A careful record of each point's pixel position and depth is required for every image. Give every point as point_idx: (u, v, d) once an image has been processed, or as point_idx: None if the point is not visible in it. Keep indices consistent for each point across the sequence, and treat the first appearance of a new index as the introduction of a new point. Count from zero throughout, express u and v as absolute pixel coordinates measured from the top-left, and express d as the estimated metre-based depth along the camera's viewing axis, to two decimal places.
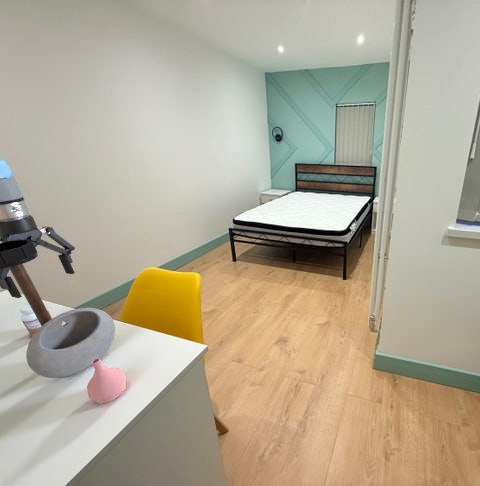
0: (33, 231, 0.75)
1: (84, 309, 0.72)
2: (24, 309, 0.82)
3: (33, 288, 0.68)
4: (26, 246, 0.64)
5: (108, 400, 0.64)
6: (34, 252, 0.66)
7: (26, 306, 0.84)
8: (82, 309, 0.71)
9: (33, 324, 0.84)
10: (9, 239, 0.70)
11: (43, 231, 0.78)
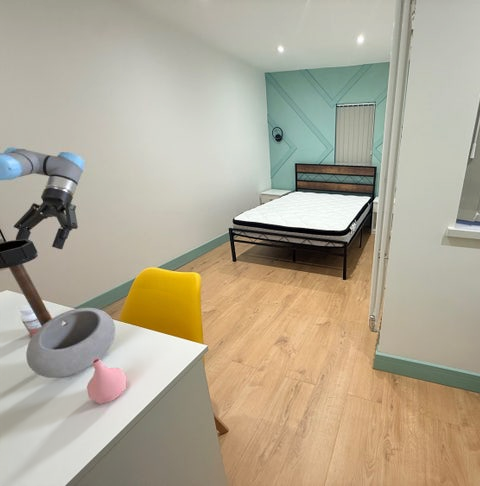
0: None
1: (84, 309, 0.72)
2: (24, 309, 0.82)
3: (33, 288, 0.68)
4: (26, 246, 0.64)
5: (108, 400, 0.64)
6: (34, 252, 0.66)
7: (26, 306, 0.84)
8: (82, 309, 0.71)
9: (33, 324, 0.84)
10: None
11: None
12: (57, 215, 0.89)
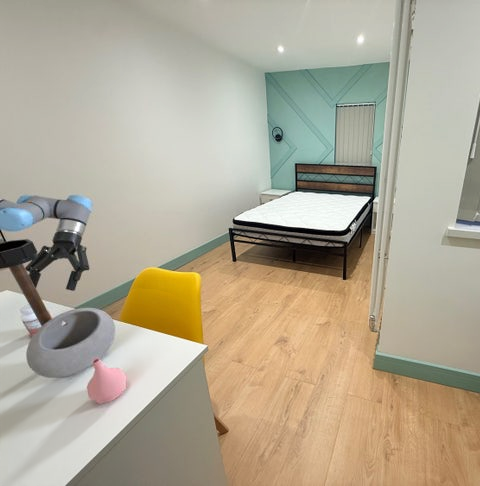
0: None
1: (84, 309, 0.72)
2: (24, 309, 0.82)
3: (33, 288, 0.68)
4: (26, 246, 0.64)
5: (108, 400, 0.64)
6: (34, 252, 0.66)
7: (26, 306, 0.84)
8: (82, 309, 0.71)
9: (33, 324, 0.84)
10: None
11: None
12: (69, 258, 0.93)
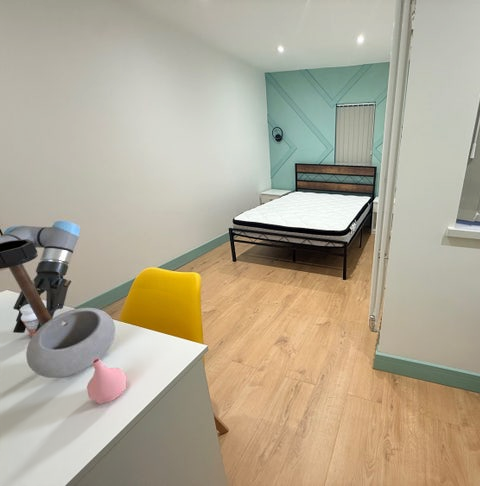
0: None
1: (84, 309, 0.72)
2: (24, 309, 0.82)
3: (33, 288, 0.68)
4: (26, 246, 0.64)
5: (108, 400, 0.64)
6: (34, 252, 0.66)
7: (26, 306, 0.84)
8: (82, 309, 0.71)
9: (33, 324, 0.84)
10: None
11: None
12: (48, 292, 0.87)
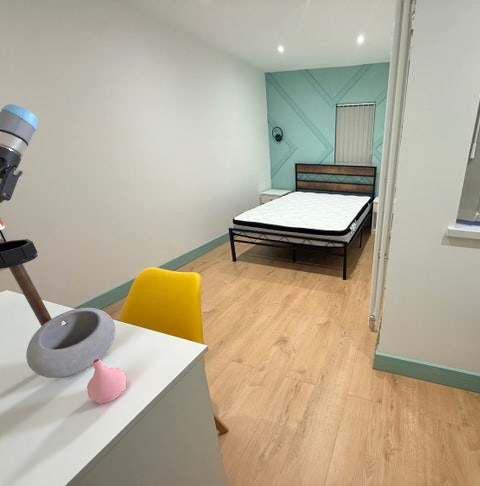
0: None
1: (84, 309, 0.72)
2: None
3: (33, 288, 0.68)
4: (26, 246, 0.64)
5: (108, 400, 0.64)
6: (34, 252, 0.66)
7: None
8: (82, 309, 0.71)
9: None
10: None
11: None
12: None
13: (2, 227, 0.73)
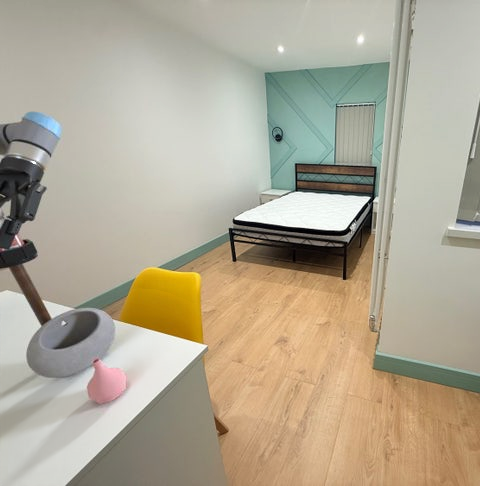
0: None
1: (84, 309, 0.72)
2: None
3: (33, 288, 0.68)
4: (26, 246, 0.64)
5: (108, 400, 0.64)
6: (34, 252, 0.66)
7: None
8: (82, 309, 0.71)
9: None
10: None
11: None
12: (13, 197, 0.63)
13: None
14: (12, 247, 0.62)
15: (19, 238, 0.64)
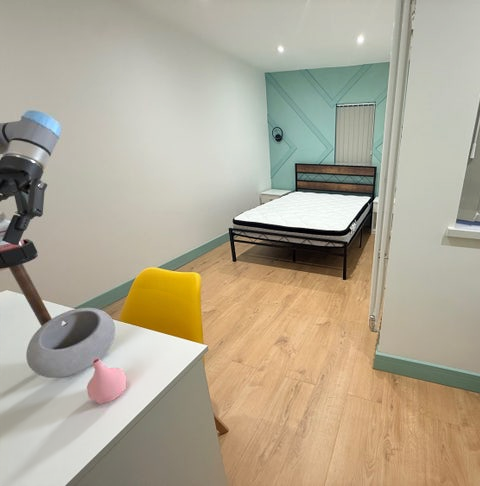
0: None
1: (84, 309, 0.72)
2: None
3: (33, 288, 0.68)
4: (26, 246, 0.64)
5: (108, 400, 0.64)
6: (34, 252, 0.66)
7: None
8: (82, 309, 0.71)
9: None
10: None
11: None
12: (16, 195, 0.63)
13: None
14: None
15: (21, 241, 0.64)
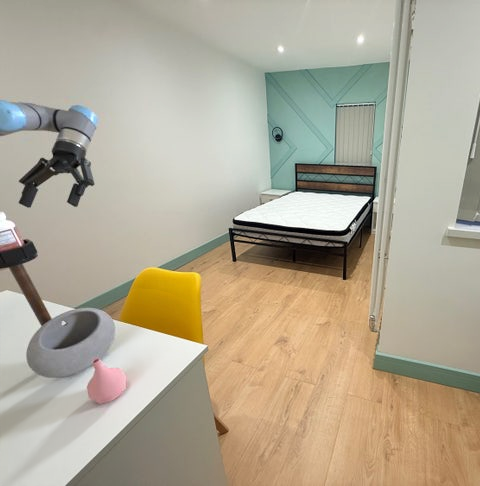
0: None
1: (84, 309, 0.72)
2: None
3: (33, 288, 0.68)
4: (26, 246, 0.64)
5: (108, 400, 0.64)
6: (34, 252, 0.66)
7: None
8: (82, 309, 0.71)
9: None
10: None
11: None
12: (71, 170, 0.80)
13: None
14: None
15: (21, 241, 0.64)
